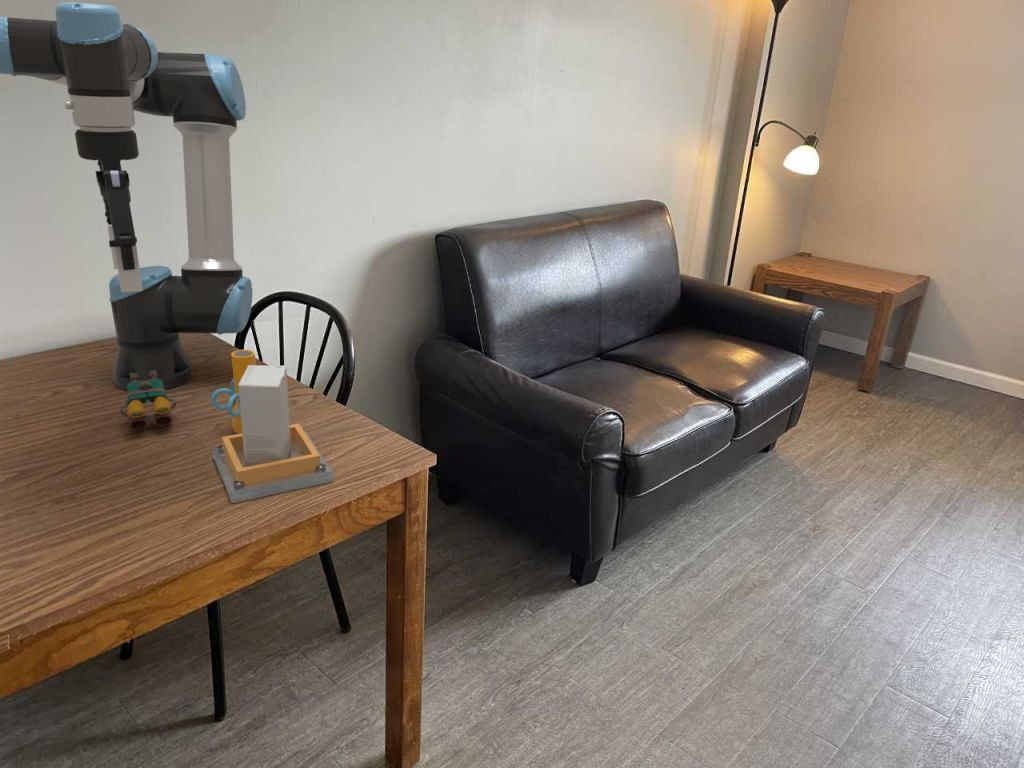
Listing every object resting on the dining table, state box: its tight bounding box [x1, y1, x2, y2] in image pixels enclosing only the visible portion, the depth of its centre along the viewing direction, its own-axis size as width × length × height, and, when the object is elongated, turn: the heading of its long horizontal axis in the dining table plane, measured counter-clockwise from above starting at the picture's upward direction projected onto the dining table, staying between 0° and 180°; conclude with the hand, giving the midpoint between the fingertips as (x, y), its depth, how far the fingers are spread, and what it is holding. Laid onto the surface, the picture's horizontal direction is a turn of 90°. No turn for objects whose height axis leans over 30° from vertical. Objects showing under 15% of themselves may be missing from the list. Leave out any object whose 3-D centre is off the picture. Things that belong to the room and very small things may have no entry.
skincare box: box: [238, 364, 291, 467], centre depth 123 cm, size 8×7×16 cm
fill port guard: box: [221, 423, 321, 485], centre depth 126 cm, size 13×13×2 cm
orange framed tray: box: [212, 430, 334, 504], centre depth 126 cm, size 16×16×3 cm
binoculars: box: [119, 370, 177, 431], centre depth 139 cm, size 9×9×10 cm
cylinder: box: [210, 349, 257, 434], centre depth 138 cm, size 12×10×15 cm
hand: (127, 279), depth 112 cm, fingers open, 13 cm apart
